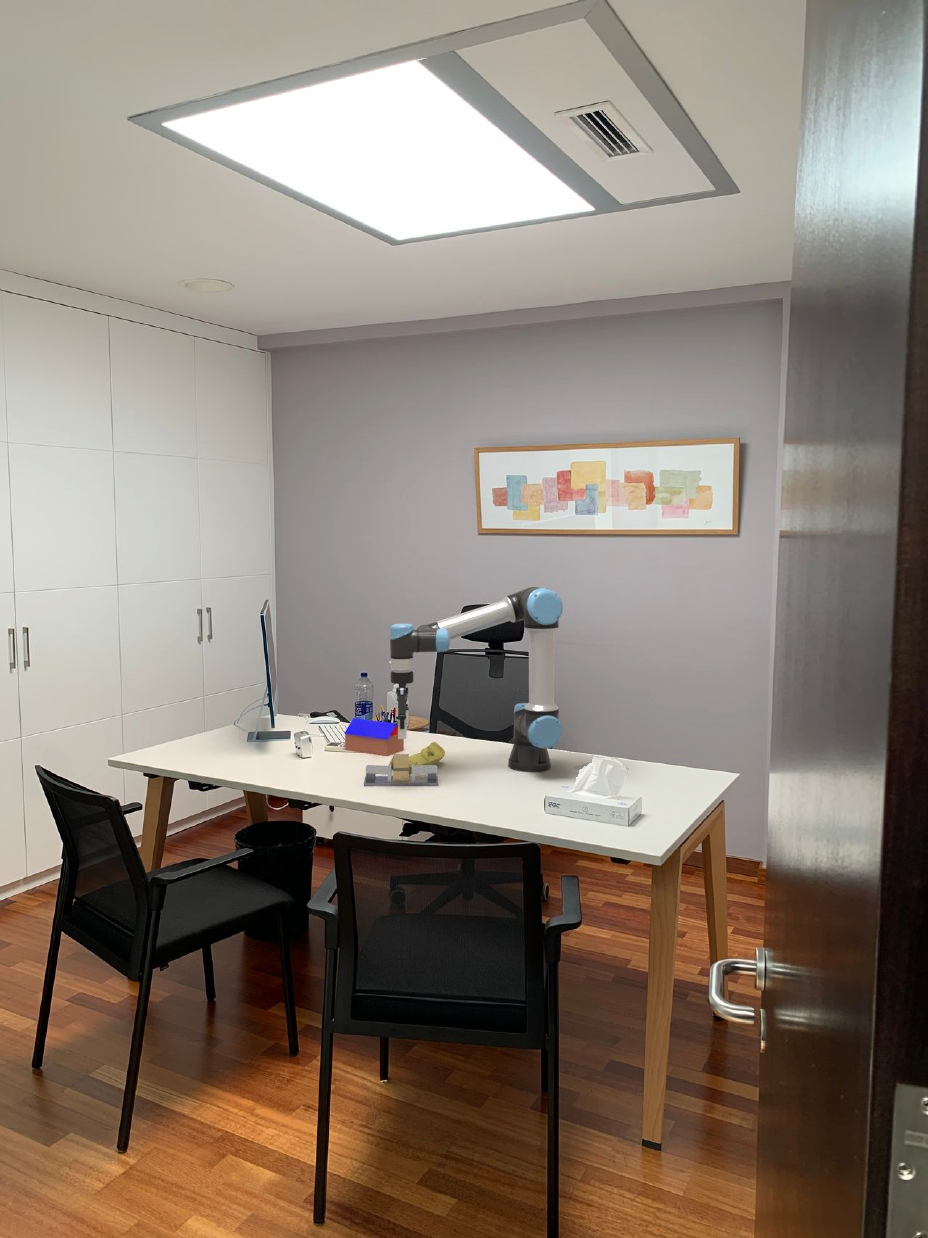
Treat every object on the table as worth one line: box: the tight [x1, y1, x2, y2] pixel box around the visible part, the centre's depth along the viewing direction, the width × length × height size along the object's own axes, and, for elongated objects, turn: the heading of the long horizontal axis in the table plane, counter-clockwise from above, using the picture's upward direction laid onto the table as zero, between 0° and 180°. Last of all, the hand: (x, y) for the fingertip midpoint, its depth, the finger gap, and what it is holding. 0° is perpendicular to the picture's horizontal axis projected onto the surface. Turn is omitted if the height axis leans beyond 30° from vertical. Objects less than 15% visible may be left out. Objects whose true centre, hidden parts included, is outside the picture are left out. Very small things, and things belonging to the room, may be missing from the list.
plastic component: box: [389, 741, 446, 774], centre depth 325 cm, size 20×7×10 cm
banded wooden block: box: [392, 753, 410, 781], centre depth 303 cm, size 5×5×8 cm
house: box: [343, 717, 405, 757], centre depth 349 cm, size 12×20×12 cm, turn 61°
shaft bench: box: [363, 763, 439, 787], centre depth 303 cm, size 24×9×6 cm, turn 93°
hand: (402, 734), depth 302 cm, fingers open, 13 cm apart
